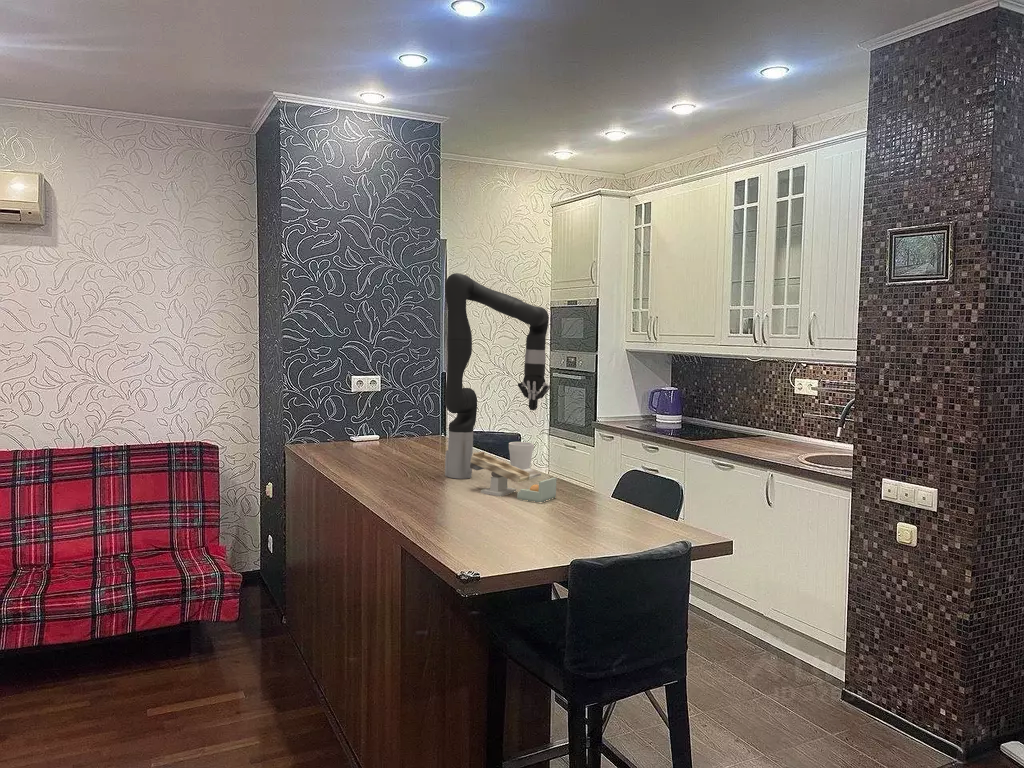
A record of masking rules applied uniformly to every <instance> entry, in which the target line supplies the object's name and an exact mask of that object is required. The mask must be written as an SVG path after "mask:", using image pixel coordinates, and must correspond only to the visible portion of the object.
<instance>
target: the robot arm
mask: <svg viewBox="0 0 1024 768" xmlns="http://www.w3.org/2000/svg"><path fill="white" fill-rule="evenodd" d="M444 292H445V299H446V301H445V302H446V312H447V313H446V314H447V317H446V320H447V321H446V323H447V324H446V327H447V328H446V352H447V353H446V354H447V357H446V358H447V360H446V361H447V364H446V365H447V366H446V367H447V368H446V381H445V382H446V383H445V391H444V401H445V402H444V404H445V407H446V409H447V411H448V413H451V414H456V417H455V418H454V419H453V420H452V421H450V422H449V424H448V440H447V442H448V443H447V449H446V451H445V456H444V457H445V458H444V459H445V462H444V463H445V464H444V465H445V468H444V476H445V477H447V478H450V479H458V480H459V479H461V480H463V479H464V480H465V479H470V478H472V476H473V469H472V468H470V465H471V462H470V461H471V457H472V456H473V454H474V453H473V452H474V451H473V450H474V448H473V447H474V427H475V425H476V422H477V411H478V395H477V394H476V391H475V390H474V389H472V388H471V387H463V379H464V378H463V377H464V373H465V370H466V368H467V365H469V361H470V358H472V357H471V356H472V352H473V340H472V339H473V333H472V330H471V329H472V328H471V325H470V323H469V319H468V314H467V301H472V302H476V303H480V304H482V305H484V306H486V307H488V308H490V309H492V310H494V311H496V312H498V313H500V314H503V315H505V316H508V317H510V318H513V319H517V320H518V321H520V322H522V323H524V324H526V325H528V326H529V331H528V333H527V335H526V339H525V342H526V343H525V351H524V352H525V354H524V369H523V371H524V372H523V374H524V377H523V381H521V382H518V383H517V387H518V388H519V390H520V391H521V393H522V395H523V397H524V398H527V399H528V409H529V411H536V410H537V409H538V402H539V400H540V399H543V398H544V397H545V395H546V394H547V393H548V391H550V388H551V385H549V384H547V382H546V379H545V375H546V362H547V360H546V359H547V357H546V343H547V342H546V338H547V332H548V327H549V322H550V321H549V319H550V318H549V317H550V316H549V313H548V310H546V309H545V308H544V307H542V306H535V305H533V304H529V303H527V302H524V301H523V300H521V299H519V298H517V297H514V296H512V295H510V294H506V293H503V292H500V291H497V290H494V289H491V288H489V287H486V286H485V285H482V284H481V283H479V282H477V281H476V280H474V279H473V278H471V277H470V276H468V275H465V274H463V273H458V272H456V273H452V274H450V275H449V276H448V277H447V278H446V280H445V284H444Z"/></svg>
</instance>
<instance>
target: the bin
mask: <svg viewBox="0 0 1024 768" xmlns="http://www.w3.org/2000/svg"><path fill="white" fill-rule="evenodd" d="M538 485H539V492H537V491H531V490H530V488H526V489H523V488H520V489H519V491H516V492H517V495H516V499H522V500H521V501H523V500H528V501H527V502H529V501H535V502H544V501H546V500H549V499H552V498H555V497H556V496H557V477H550V478H547V479H544V480H541V481H539V482H538ZM556 498H557V497H556ZM544 503H545V502H544Z"/></svg>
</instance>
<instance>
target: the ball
mask: <svg viewBox="0 0 1024 768" xmlns="http://www.w3.org/2000/svg"><path fill="white" fill-rule="evenodd" d="M530 490H531V491H537V492H539V484H535V483H534V484H533V485H531V486H530Z"/></svg>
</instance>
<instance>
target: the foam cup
mask: <svg viewBox="0 0 1024 768" xmlns="http://www.w3.org/2000/svg"><path fill="white" fill-rule="evenodd" d="M508 452H509V462H510V463H509V464H510V465H512V466H514V467H517V468H519V469H522V470H524V469H528V468H530V469H531V464H532V460H533V459H532V458H533V453H534V443H532V442H527V441H511V442H508Z"/></svg>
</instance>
